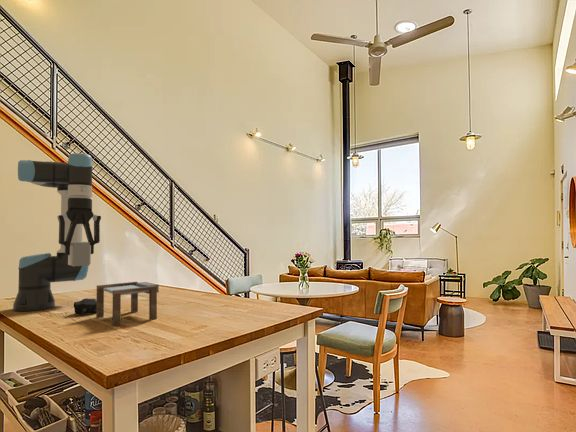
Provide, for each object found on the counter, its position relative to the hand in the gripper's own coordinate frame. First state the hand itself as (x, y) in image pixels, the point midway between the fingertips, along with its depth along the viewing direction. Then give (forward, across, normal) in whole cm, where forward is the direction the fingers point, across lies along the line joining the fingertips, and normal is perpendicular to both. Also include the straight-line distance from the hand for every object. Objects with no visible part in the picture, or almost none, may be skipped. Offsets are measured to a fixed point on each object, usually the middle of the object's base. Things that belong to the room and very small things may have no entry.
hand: (79, 264), depth 131 cm
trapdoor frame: (+21, +16, 0) cm, 27 cm away
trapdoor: (+12, +18, 0) cm, 22 cm away
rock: (+22, +9, +20) cm, 31 cm away
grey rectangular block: (0, 0, 0) cm, 0 cm away
